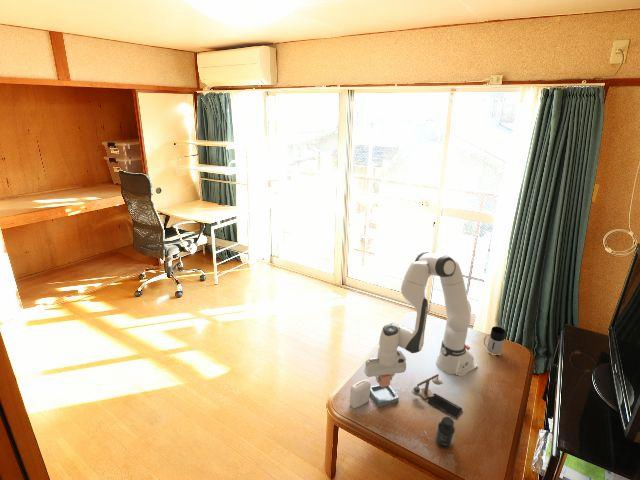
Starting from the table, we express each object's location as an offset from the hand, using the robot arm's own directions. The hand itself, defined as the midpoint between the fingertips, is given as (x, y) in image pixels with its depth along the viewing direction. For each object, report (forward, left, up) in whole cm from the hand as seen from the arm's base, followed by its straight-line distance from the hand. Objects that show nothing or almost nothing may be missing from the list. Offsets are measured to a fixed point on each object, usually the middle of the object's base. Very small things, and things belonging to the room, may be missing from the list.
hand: (383, 380), depth 181 cm
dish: (0, +1, -10) cm, 10 cm away
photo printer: (+13, +1, -10) cm, 16 cm away
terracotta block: (0, 0, -2) cm, 2 cm away
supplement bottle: (-12, +32, -10) cm, 36 cm away
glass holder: (-78, -9, -10) cm, 79 cm away
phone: (-25, +16, -10) cm, 32 cm away
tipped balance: (-21, +7, -10) cm, 24 cm away
